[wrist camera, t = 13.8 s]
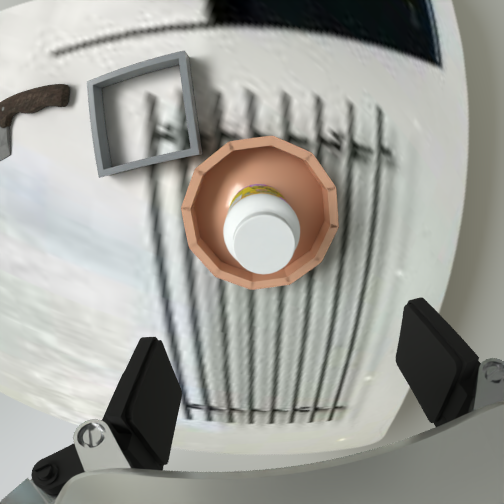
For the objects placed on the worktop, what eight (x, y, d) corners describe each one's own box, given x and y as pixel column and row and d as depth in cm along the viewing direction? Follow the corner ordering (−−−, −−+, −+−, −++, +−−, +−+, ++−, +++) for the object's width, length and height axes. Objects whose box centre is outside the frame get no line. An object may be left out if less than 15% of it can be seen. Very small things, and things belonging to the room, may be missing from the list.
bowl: (178, 151, 32) (170, 152, 29) (322, 132, 31) (330, 130, 28) (203, 283, 38) (200, 296, 34) (332, 265, 37) (340, 276, 34)
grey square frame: (96, 84, 28) (86, 81, 26) (188, 56, 28) (184, 50, 26) (107, 175, 33) (99, 177, 30) (202, 154, 32) (199, 154, 30)
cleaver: (72, 70, 27) (64, 67, 25) (73, 135, 31) (64, 135, 29) (-36, 129, 28) (-43, 130, 26) (-34, 178, 31) (-41, 180, 29)
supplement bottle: (297, 203, 33) (326, 234, 21) (265, 248, 35) (275, 301, 23) (249, 171, 32) (252, 183, 20) (218, 218, 34) (203, 258, 22)
